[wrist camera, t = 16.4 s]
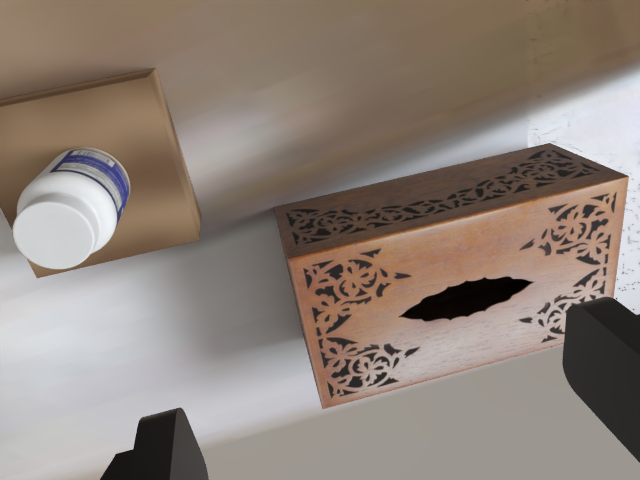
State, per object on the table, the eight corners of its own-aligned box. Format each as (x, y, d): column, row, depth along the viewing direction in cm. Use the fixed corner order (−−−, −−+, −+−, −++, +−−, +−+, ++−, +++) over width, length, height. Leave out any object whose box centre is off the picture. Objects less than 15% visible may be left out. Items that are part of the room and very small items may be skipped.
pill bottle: (87, 231, 35) (49, 297, 27) (31, 173, 33) (-29, 226, 25) (148, 192, 35) (127, 247, 27) (95, 130, 32) (56, 171, 24)
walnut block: (-13, 101, 35) (-47, 116, 30) (155, 68, 36) (147, 77, 32) (56, 248, 40) (37, 278, 36) (201, 214, 41) (199, 240, 37)
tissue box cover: (303, 336, 49) (322, 409, 40) (273, 205, 43) (287, 259, 34) (541, 274, 52) (609, 331, 43) (547, 142, 45) (628, 176, 36)
